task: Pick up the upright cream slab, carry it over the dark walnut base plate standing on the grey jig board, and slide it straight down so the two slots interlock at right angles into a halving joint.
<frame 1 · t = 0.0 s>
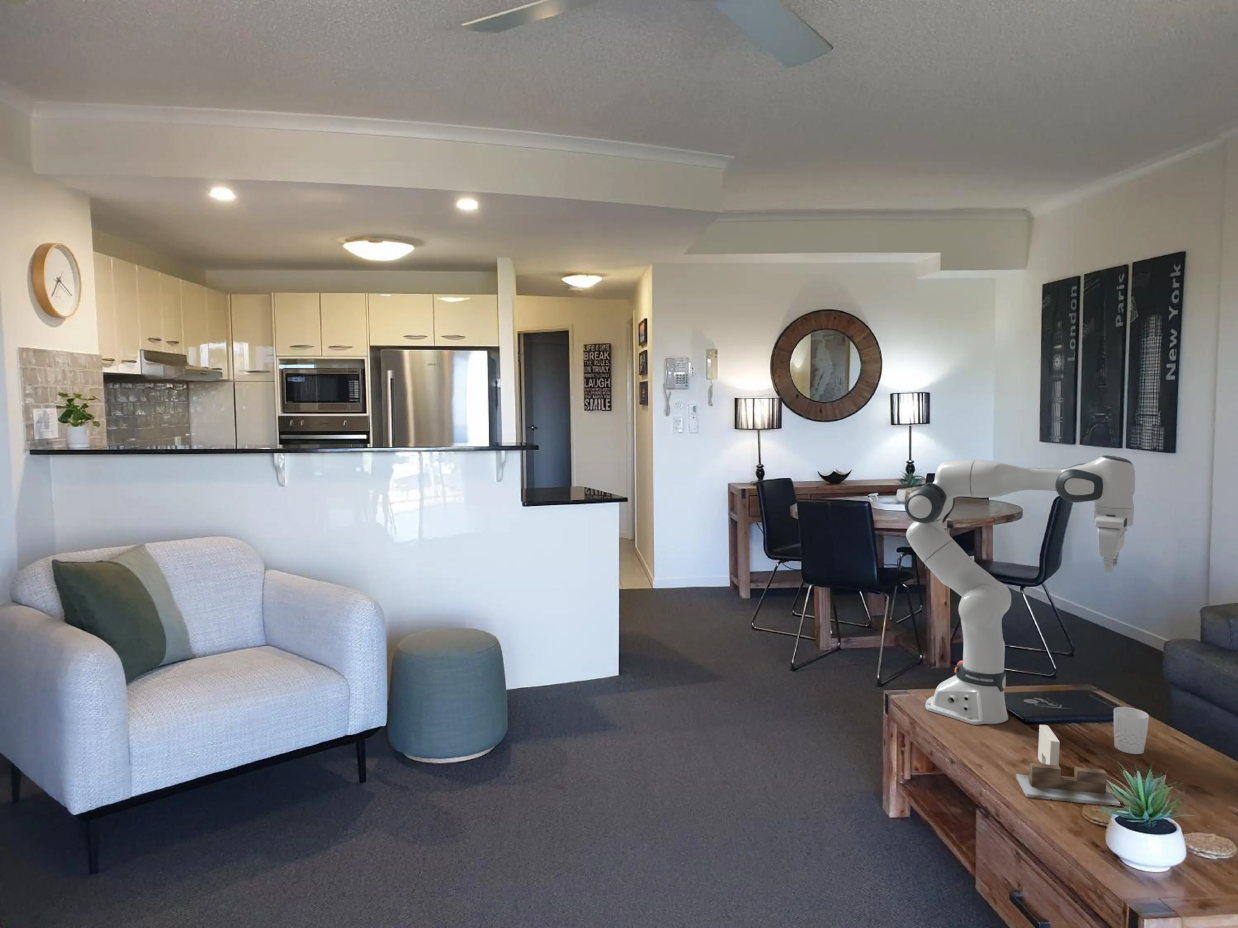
hand: (1110, 568, 212), 48 cm above the table, fingers open, 8 cm apart
white cup: (1129, 749, 212), on the table
base plate: (1066, 791, 190), on the table
upright cream slab: (1047, 767, 202), on the table
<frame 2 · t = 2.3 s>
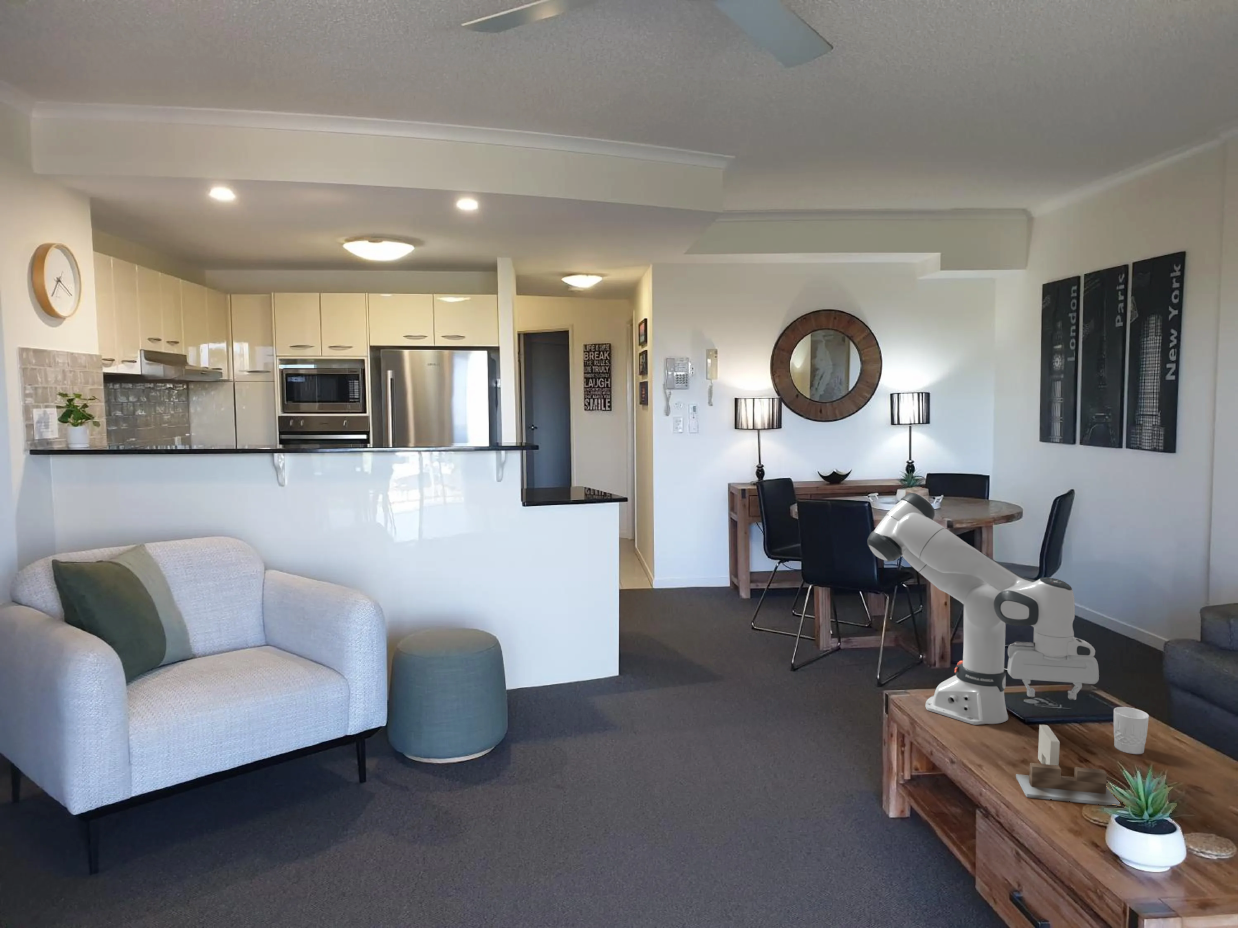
hand: (1051, 697, 200), 18 cm above the table, fingers open, 8 cm apart
nothing on the table moved.
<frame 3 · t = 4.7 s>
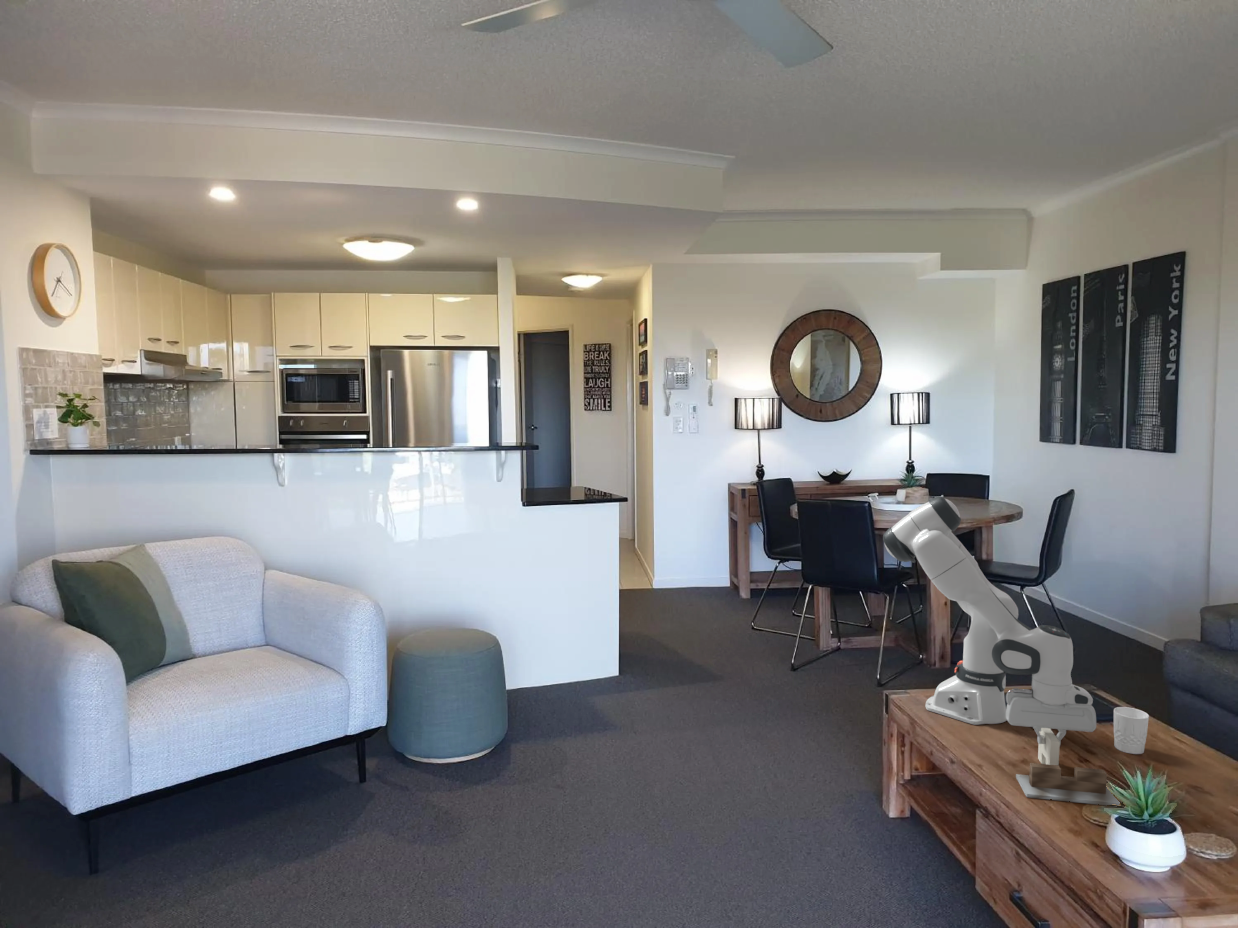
hand: (1048, 743, 202), 6 cm above the table, fingers closed on upright cream slab, 2 cm apart
upright cream slab: (1047, 767, 202), on the table, touching gripper
everything else where it was.
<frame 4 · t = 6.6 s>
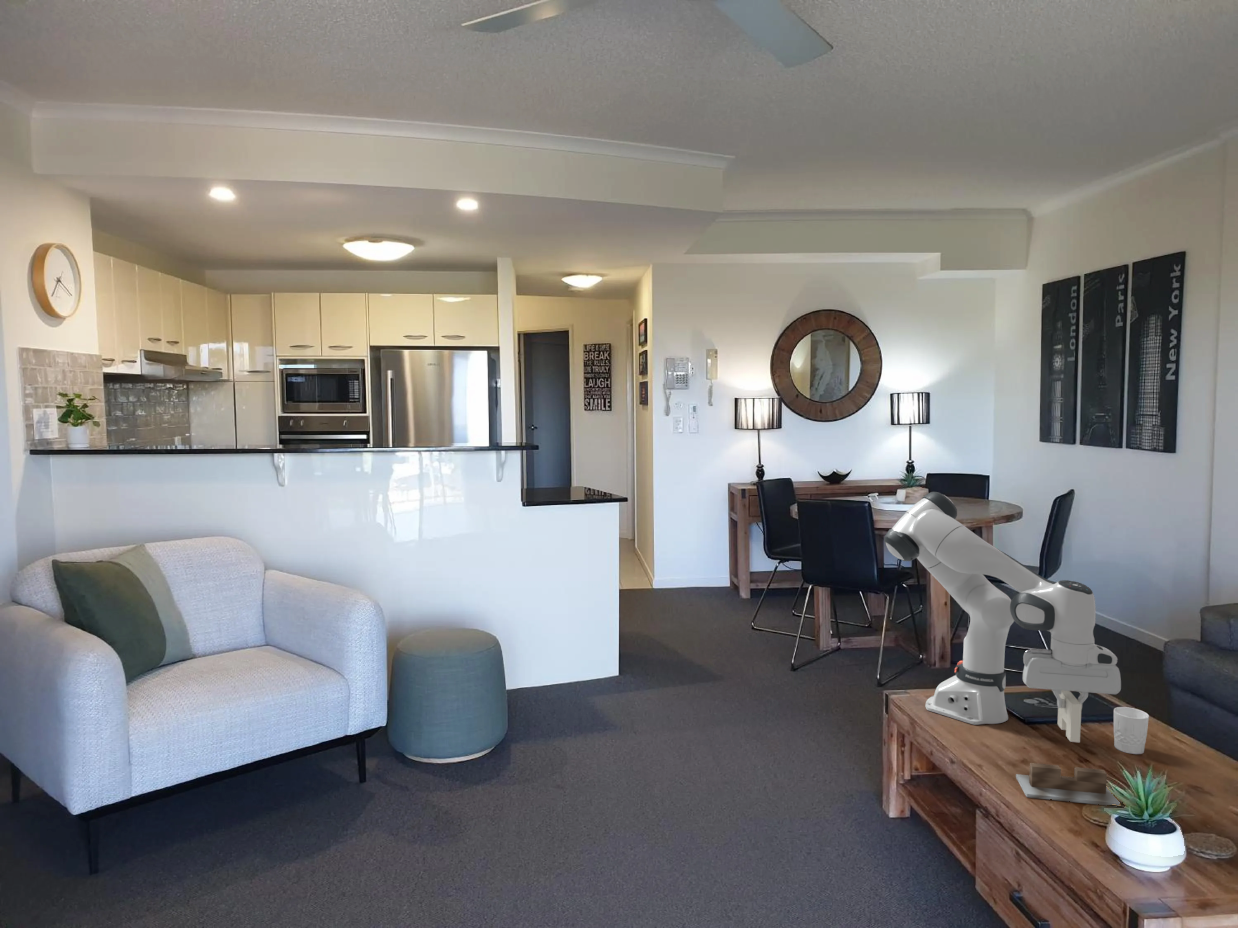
hand: (1069, 707, 188), 21 cm above the table, fingers closed on upright cream slab
upright cream slab: (1068, 732, 189), point 14 cm above the table, touching gripper
everything else where it was.
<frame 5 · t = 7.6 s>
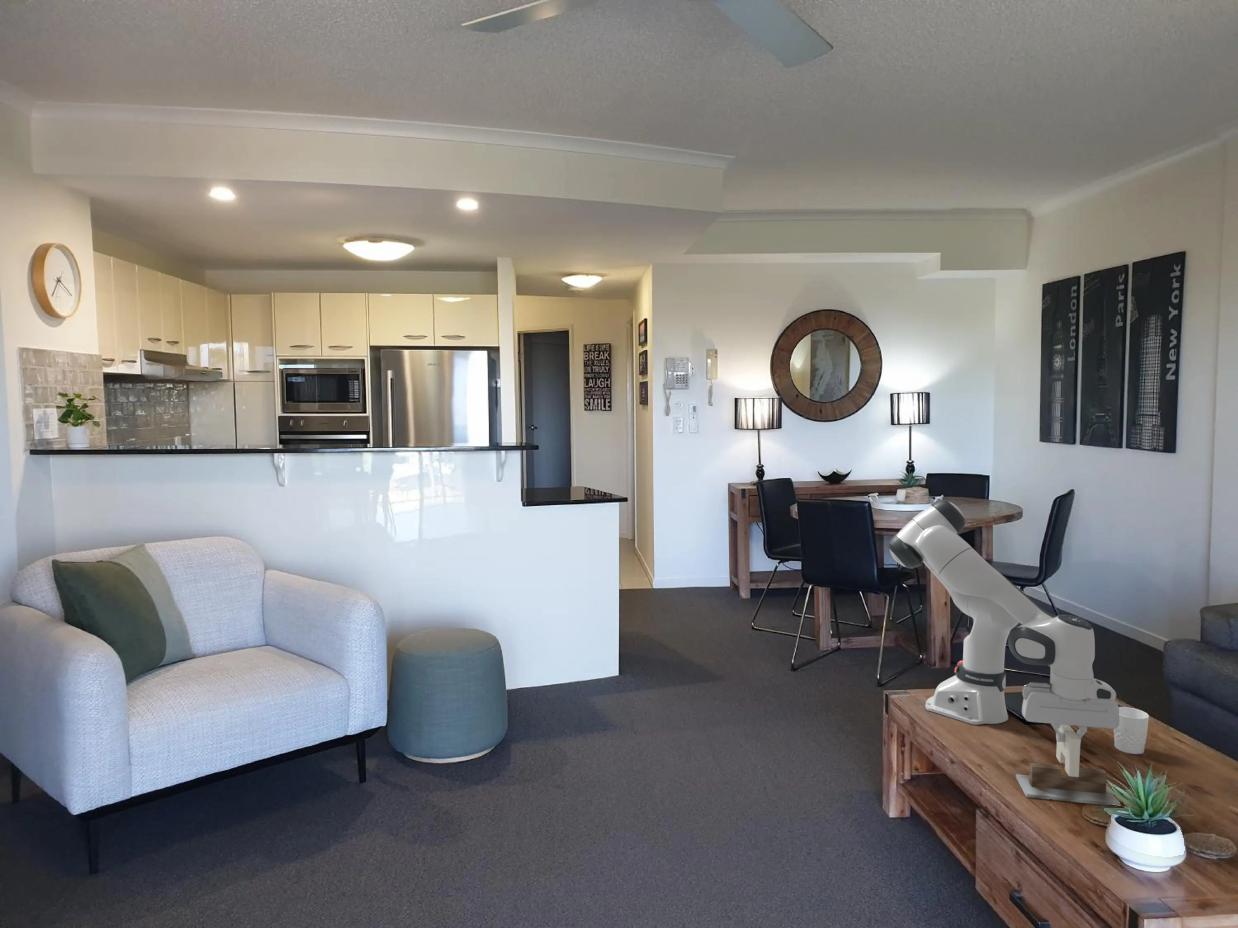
hand: (1068, 741, 189), 12 cm above the table, fingers closed on upright cream slab
upright cream slab: (1067, 766, 189), point 6 cm above the table, touching gripper
everything else where it was.
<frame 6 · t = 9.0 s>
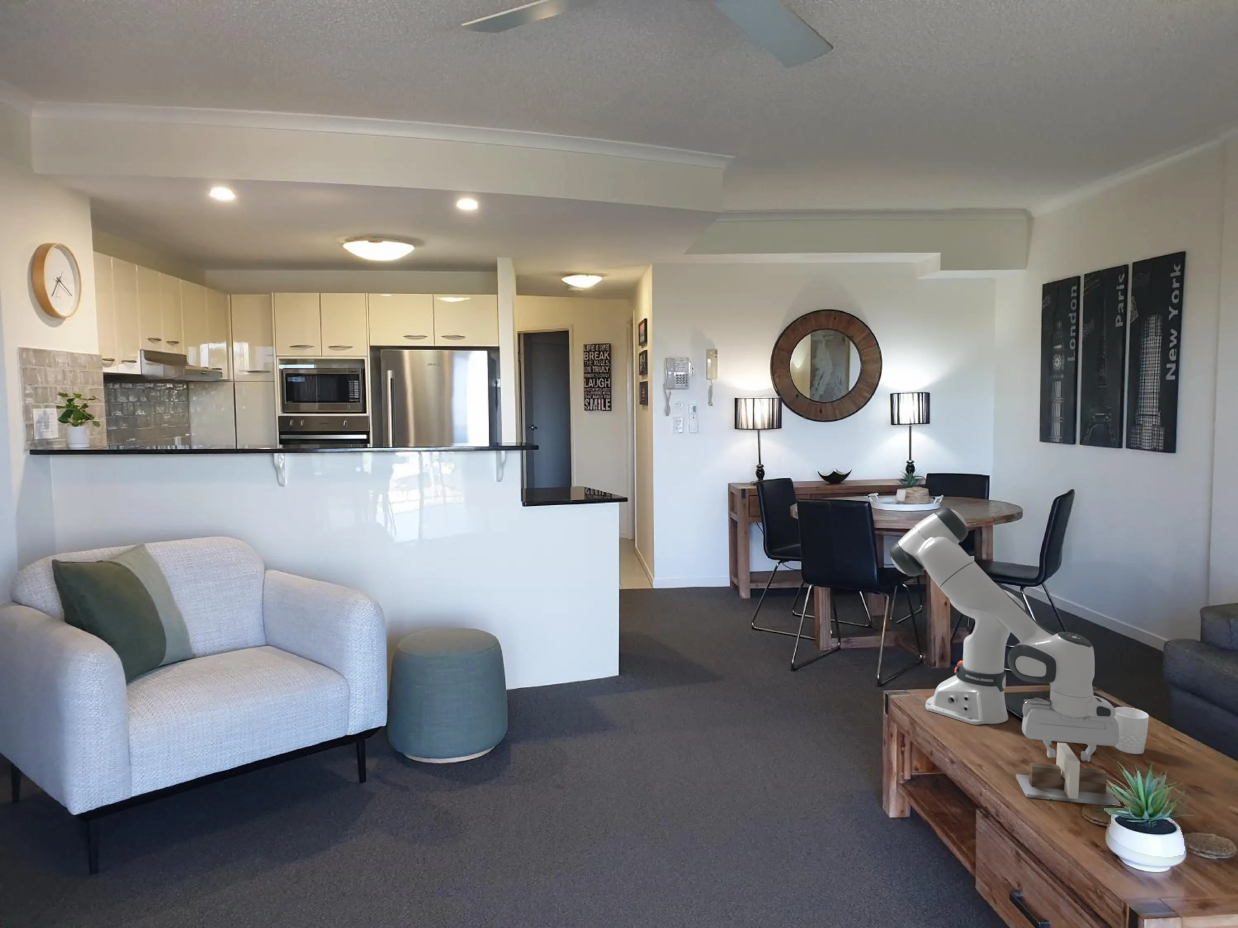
hand: (1068, 758, 189), 8 cm above the table, fingers open, 6 cm apart
upright cream slab: (1066, 788, 190), point 1 cm above the table, touching base plate
everything else where it was.
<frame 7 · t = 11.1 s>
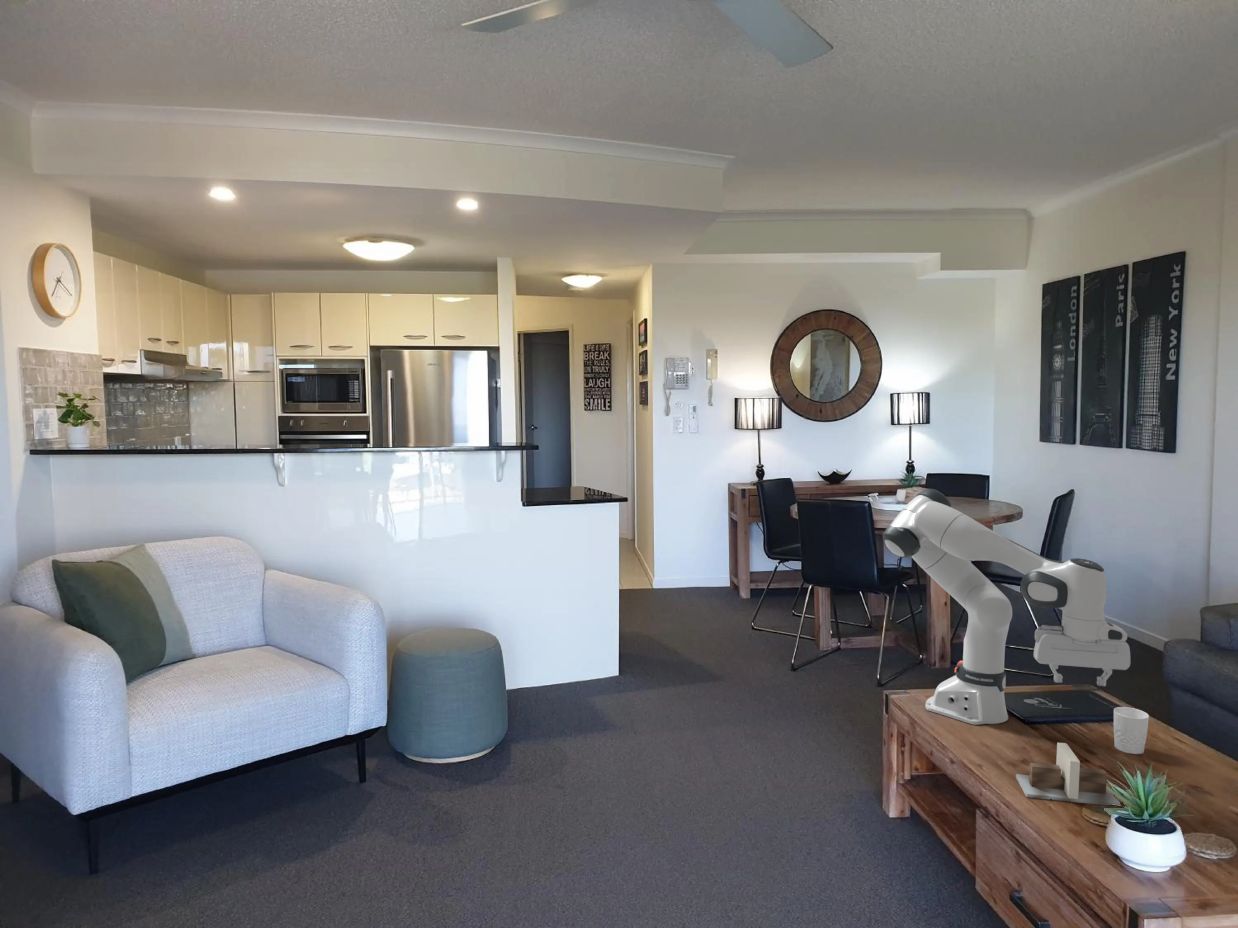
hand: (1079, 683, 192), 25 cm above the table, fingers open, 8 cm apart
nothing on the table moved.
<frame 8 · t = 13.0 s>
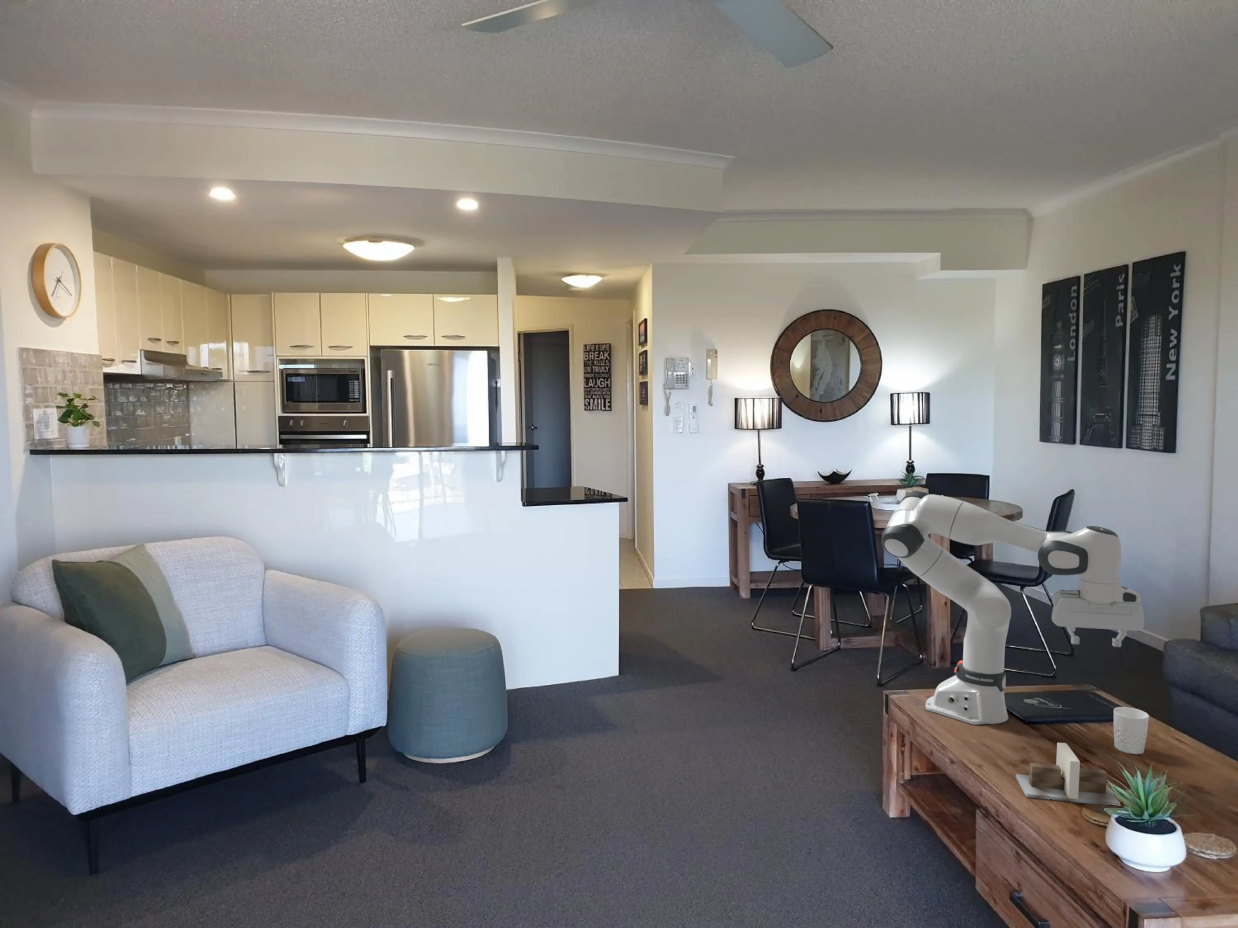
hand: (1095, 644, 201), 31 cm above the table, fingers open, 8 cm apart
nothing on the table moved.
at the end: upright cream slab 0.1 cm off-centre on the base plate, point 0.8 cm above the base plate's base; upright cream slab tilted 0°; the gripper is holding nothing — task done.
